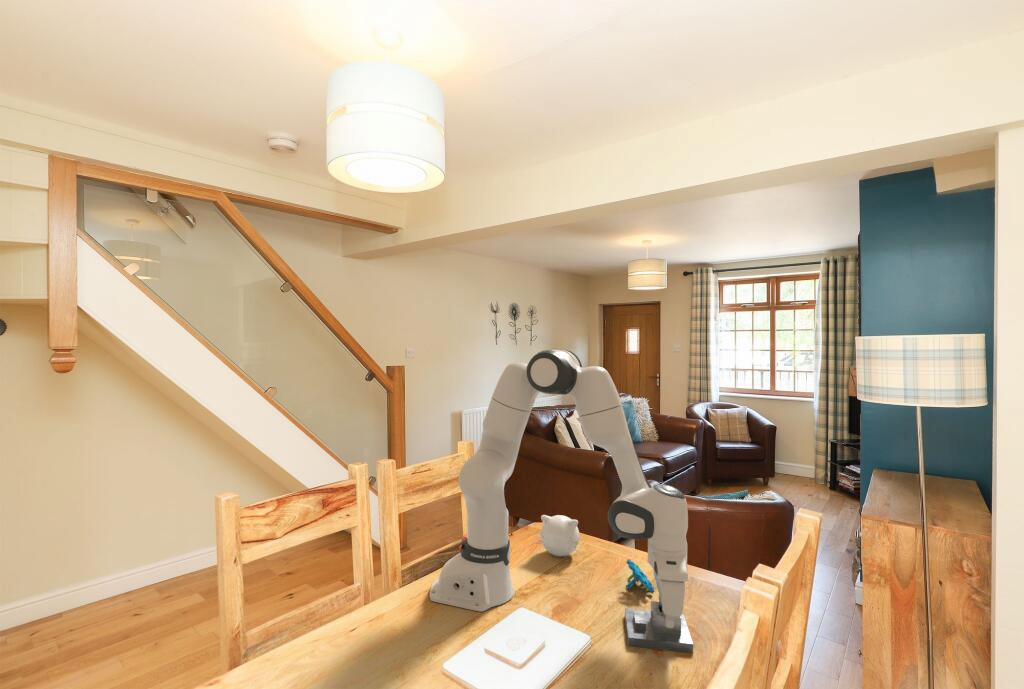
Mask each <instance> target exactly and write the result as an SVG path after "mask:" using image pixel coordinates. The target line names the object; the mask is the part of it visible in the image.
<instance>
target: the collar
mask: <svg viewBox="0 0 1024 689" xmlns="http://www.w3.org/2000/svg"><path fill="white" fill-rule="evenodd" d="M650 611H651V621H652V626H653V631H654V632H657V633H667V634H677V635H681V617H680V618H676V617H675V619H674V627H673V628H667V627H666V626H665V615H664V612H662V603H661V602H659V601H654V600H653V601H652V600H651V601H650Z"/></svg>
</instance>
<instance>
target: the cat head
mask: <svg viewBox="0 0 1024 689" xmlns="http://www.w3.org/2000/svg"><path fill="white" fill-rule="evenodd" d="M540 519H541V521H542V526H541V530H540V531H539V532H536V533H535V535H537V534H538V535H540V536H535V537H534V538H536V539H540V540H541V541H537V542H534V543H533V545H536V544H537V545H538V544H541V545H542V546H543V548H544V549H545V550H546V551H547V552H548V553H549V554H551V555H553V556H555V557H566V556H569V555H571V554H572V553H574V551H576V552H578V550H577V547H578V545H579V541H580V530H579V528H578V524H579V521H578V520H577V519H572V518H571V517H568V516H566V515H560V514H555V515H553V516H550V515H546V514H542V515H541V516H540Z"/></svg>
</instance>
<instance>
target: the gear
mask: <svg viewBox="0 0 1024 689" xmlns="http://www.w3.org/2000/svg"><path fill="white" fill-rule="evenodd" d="M626 565H627V566H628V569H630V570H631V574H630V575H629V576H628V577H627V581H629V582H628V583H627V584H626V585H625V586H626V588H627V590H628V589H630V588H631V587H632V586H633V585H634V584H635V583H641V585H643V584H644V587H645V588H646V590H648V591H649V592H651V593H653V592H654V591H655V587H654V586H653V583H652V581H650V580H649V579H648V577H647V575H646V574H645V573H644V572H643V571H642V569H641V568H640V566H639V565H637V564H636V563H635V562H634V561H632V560H631V559H630V558H628V559H627V560H626Z"/></svg>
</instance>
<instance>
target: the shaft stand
mask: <svg viewBox="0 0 1024 689" xmlns="http://www.w3.org/2000/svg"><path fill="white" fill-rule="evenodd" d="M662 612H664V611H663V607H662ZM624 619H625V620H624V621H625V629H626V636H627V645H628V646H627V647H630V648H631V647H633V648H643V649H651V650H652V649H653V650H661V651H671V652H672V651H673V652H681V653H690V654H693V653H694V642H693V639H692V636H691V633H690V631H689V630H690V629H689V626H688V624H687V620H686V618H685V615H684V613H682V615H681V635H677V634H667V633H657V632H654V631H653V626H652V621H651V610H646V609H645V610H644V609H636V608H635V609H634V608H626V607H625V608H624Z"/></svg>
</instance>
